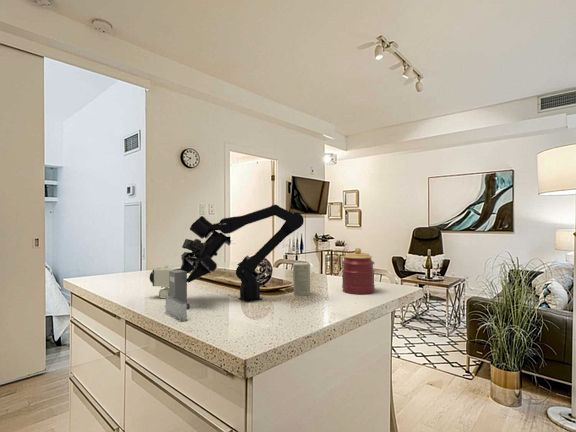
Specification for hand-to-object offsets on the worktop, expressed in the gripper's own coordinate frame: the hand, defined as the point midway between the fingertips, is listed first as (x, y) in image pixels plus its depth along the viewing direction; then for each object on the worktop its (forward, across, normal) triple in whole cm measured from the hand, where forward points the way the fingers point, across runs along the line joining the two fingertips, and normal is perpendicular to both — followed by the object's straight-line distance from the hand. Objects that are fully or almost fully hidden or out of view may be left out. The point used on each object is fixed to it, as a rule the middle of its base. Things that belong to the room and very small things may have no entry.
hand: (182, 279), depth 113 cm
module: (+7, 0, +5) cm, 9 cm away
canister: (-39, +25, +51) cm, 69 cm away
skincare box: (-24, +14, +36) cm, 46 cm away
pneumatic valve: (+6, -16, +7) cm, 18 cm away
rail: (+11, +11, +2) cm, 16 cm away
